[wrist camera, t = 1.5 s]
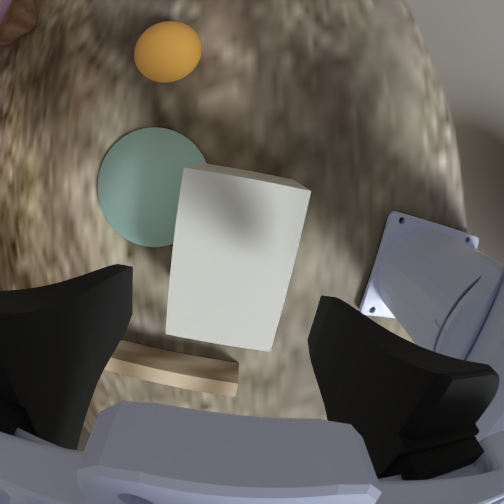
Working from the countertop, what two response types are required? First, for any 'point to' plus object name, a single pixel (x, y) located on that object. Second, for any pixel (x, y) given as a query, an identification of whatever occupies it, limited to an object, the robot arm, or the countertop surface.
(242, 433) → the robot arm
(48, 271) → the countertop surface
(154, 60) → the ball
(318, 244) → the countertop surface
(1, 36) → the cupcake
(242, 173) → the white rectangular block
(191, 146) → the pale blue curved piece
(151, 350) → the strip
